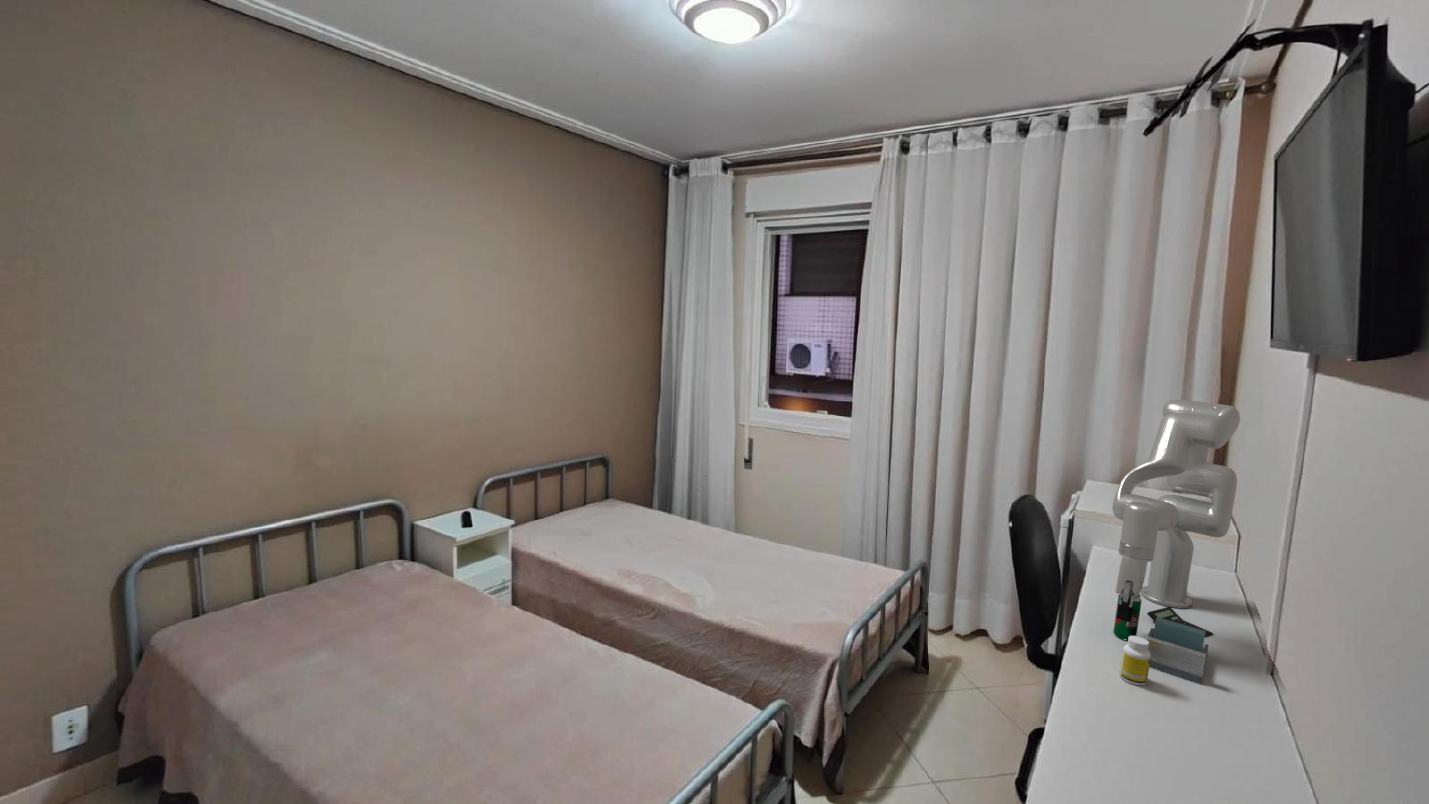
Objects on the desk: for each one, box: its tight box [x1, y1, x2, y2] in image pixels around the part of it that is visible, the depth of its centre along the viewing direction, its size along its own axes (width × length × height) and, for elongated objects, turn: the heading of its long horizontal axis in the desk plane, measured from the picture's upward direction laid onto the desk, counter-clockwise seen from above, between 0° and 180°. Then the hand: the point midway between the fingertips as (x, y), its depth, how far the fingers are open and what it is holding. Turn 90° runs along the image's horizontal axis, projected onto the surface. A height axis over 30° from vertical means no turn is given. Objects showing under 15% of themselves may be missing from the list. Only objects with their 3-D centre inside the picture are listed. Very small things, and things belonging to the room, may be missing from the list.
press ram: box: [1153, 617, 1206, 653], centre depth 160 cm, size 3×10×5 cm, turn 49°
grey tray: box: [1142, 627, 1210, 685], centre depth 156 cm, size 18×12×6 cm, turn 139°
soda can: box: [1113, 592, 1143, 641], centre depth 166 cm, size 5×5×12 cm
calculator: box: [1146, 606, 1213, 638], centre depth 173 cm, size 9×12×3 cm
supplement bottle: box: [1118, 635, 1151, 686], centre depth 146 cm, size 5×5×10 cm
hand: (1127, 613), depth 165 cm, fingers open, 9 cm apart
